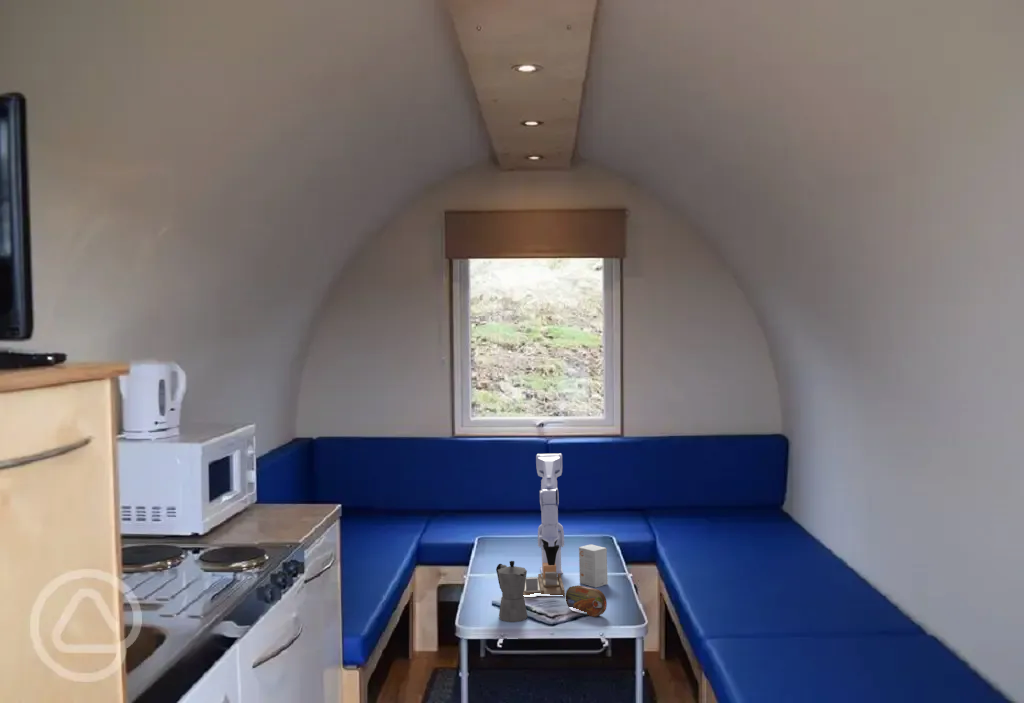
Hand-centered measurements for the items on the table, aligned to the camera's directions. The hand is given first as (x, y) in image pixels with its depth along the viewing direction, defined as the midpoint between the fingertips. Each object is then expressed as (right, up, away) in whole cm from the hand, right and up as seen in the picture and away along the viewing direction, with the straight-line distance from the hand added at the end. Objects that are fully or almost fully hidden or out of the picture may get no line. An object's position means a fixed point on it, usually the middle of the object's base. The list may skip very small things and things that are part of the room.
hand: (550, 562), depth 306 cm
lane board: (-3, -9, +1) cm, 10 cm away
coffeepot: (-14, -11, -28) cm, 33 cm away
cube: (0, -7, +9) cm, 12 cm away
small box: (+15, -9, +5) cm, 19 cm away
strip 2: (0, -8, +7) cm, 10 cm away
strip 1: (-7, -8, +1) cm, 11 cm away
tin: (+10, -10, -27) cm, 30 cm away
